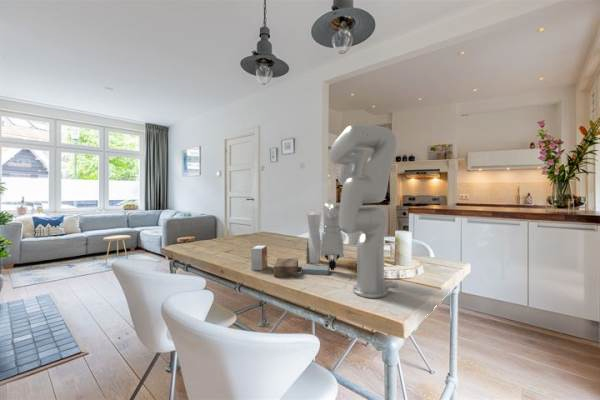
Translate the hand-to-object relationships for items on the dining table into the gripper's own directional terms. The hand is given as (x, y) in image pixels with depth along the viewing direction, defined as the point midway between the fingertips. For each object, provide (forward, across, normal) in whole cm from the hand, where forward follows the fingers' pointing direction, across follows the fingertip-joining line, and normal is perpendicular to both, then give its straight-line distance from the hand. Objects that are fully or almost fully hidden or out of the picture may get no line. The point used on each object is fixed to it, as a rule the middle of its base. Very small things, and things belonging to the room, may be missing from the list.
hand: (332, 269), depth 125 cm
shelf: (+1, +21, 0) cm, 21 cm away
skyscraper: (+2, +8, -19) cm, 21 cm away
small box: (+1, +35, -7) cm, 36 cm away
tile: (+2, +8, 0) cm, 8 cm away
